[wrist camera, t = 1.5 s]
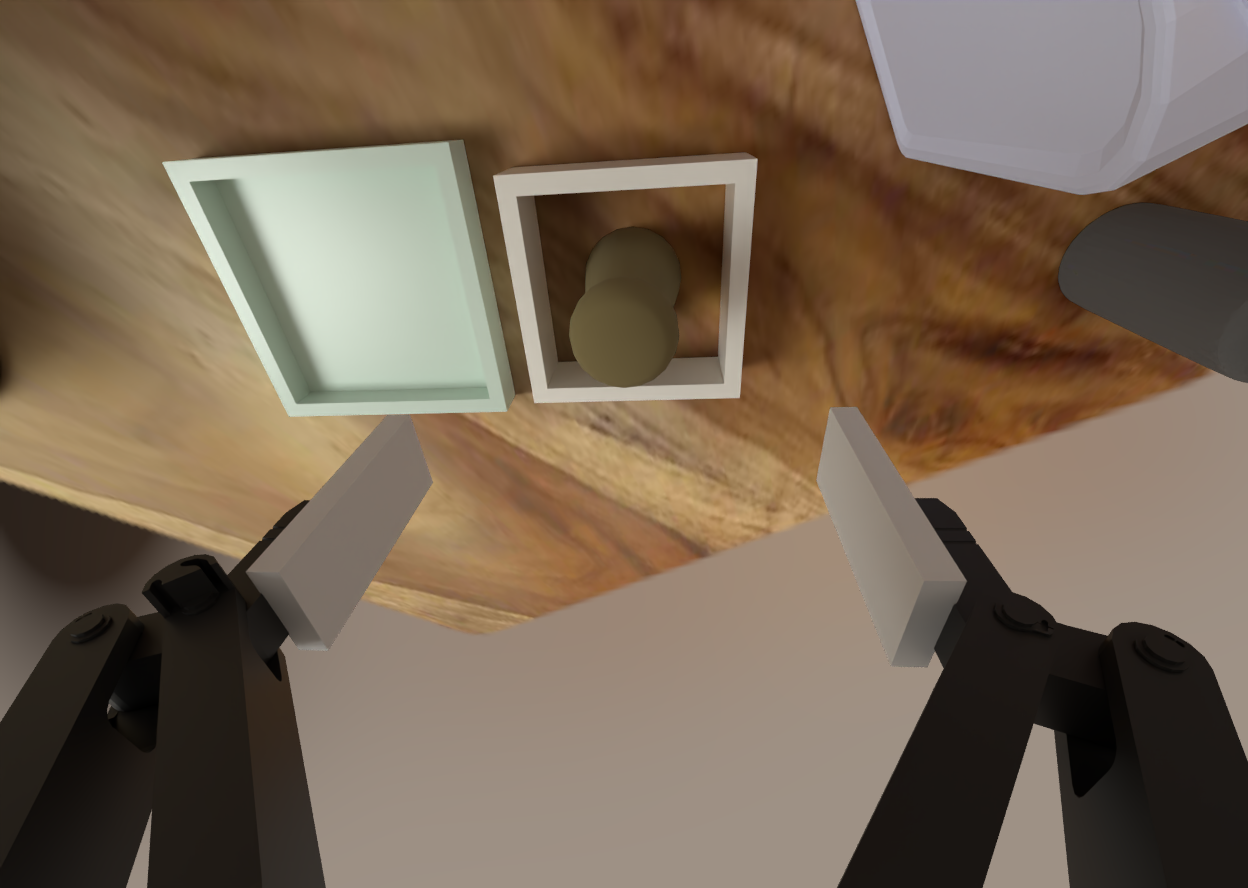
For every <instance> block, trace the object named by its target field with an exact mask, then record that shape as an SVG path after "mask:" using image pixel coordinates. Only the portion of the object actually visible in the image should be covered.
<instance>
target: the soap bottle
mask: <svg viewBox="0 0 1248 888" xmlns="http://www.w3.org/2000/svg"><path fill="white" fill-rule="evenodd" d="M856 4H857V7H858V10H859V14H860V17H861V21H862V24H863V28H864V31H865V34H866V38H867V41H868V45H869V48H870V51H871V55H872V58H873V62H874V65H875V69H876V72H877V75H878V79H879V82H880V86H881V89H882V93H883V96H884V99H885V103H886V106H887V110H888V113H889V116H890V120H891V123H892V127H893V130H894V134H895V137H896V140H897V144H898V146H899V149H900V151H901V153H902V154H903V155H904V156H905V157H906V158H911V159H916V160H920V161H925V162H930V163H934V164H939V165H944V166H948V167H953V168H957V169H962V170H967V171H971V172H976V173H981V174H985V175H990V176H995V177H999V178H1004V179H1009V180H1013V181H1018V182H1023V183H1027V184H1032V185H1036V186H1041V187H1046V188H1050V189H1055V190H1060V191H1064V192H1069V193H1074V194H1078V195H1086V194H1093V193H1099V192H1106V191H1113V190H1116V189H1118V188H1120V187H1122V186H1124V185H1126V184H1128V183H1130V182H1132V181H1134V180H1136V179H1138V178H1140V177H1142V176H1144V175H1146V174H1148V173H1150V172H1152V171H1154V170H1156V169H1158V168H1160V167H1162V166H1164V165H1166V164H1168V163H1170V162H1172V161H1174V160H1176V159H1178V158H1180V157H1182V156H1184V155H1186V154H1188V153H1190V152H1192V151H1194V150H1196V149H1198V148H1200V147H1202V146H1204V145H1206V144H1208V143H1210V142H1212V141H1214V140H1216V139H1218V138H1220V137H1222V136H1224V135H1226V134H1228V133H1230V132H1232V131H1234V130H1236V129H1238V128H1240V127H1242V126H1244V125H1246V124H1248V0H856Z"/></svg>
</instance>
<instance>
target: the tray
mask: <svg viewBox="0 0 1248 888" xmlns="http://www.w3.org/2000/svg"><path fill="white" fill-rule="evenodd" d="M162 163H163V165H164V167H165V169H166V171H167V173H168V175H169V177H170V179H171V181H172V183H173V185H174V187H175V189H176V191H177V193H178V195H179V197H180V199H181V201H182V203H183V205H184V207H185V209H186V211H187V213H188V215H189V217H190V219H191V221H192V223H193V225H194V227H195V229H196V231H197V233H198V235H199V237H200V239H201V241H202V243H203V245H204V247H205V249H206V251H207V253H208V255H209V257H210V259H211V261H212V263H213V265H214V267H215V269H216V271H217V273H218V275H219V277H220V279H221V281H222V283H223V285H224V288H225V290H226V292H227V294H228V296H229V298H230V300H231V302H232V304H233V306H234V308H235V310H236V312H237V314H238V316H239V318H240V320H241V322H242V324H243V326H244V328H245V330H246V332H247V334H248V336H249V338H250V340H251V342H252V344H253V346H254V348H255V350H256V352H257V354H258V356H259V358H260V360H261V362H262V364H263V366H264V368H265V370H266V372H267V374H268V376H269V378H270V380H271V382H272V384H273V386H274V388H275V390H276V392H277V394H278V396H279V398H280V400H281V402H282V404H283V406H284V408H285V410H286V412H287V414H288V416H289V417H295V416H338V415H380V414H423V413H465V412H507V411H508V409H509V407H510V405H511V403H512V401H513V399H514V397H515V391H514V386H513V381H512V376H511V371H510V366H509V361H508V356H507V351H506V347H505V342H504V337H503V332H502V327H501V322H500V317H499V312H498V307H497V302H496V297H495V293H494V288H493V283H492V278H491V273H490V268H489V263H488V258H487V253H486V248H485V244H484V239H483V234H482V229H481V224H480V219H479V214H478V209H477V204H476V199H475V195H474V190H473V185H472V180H471V175H470V170H469V165H468V160H467V155H466V150H465V145H464V141H463V140H449V141H435V142H420V143H406V144H392V145H377V146H363V147H349V148H334V149H320V150H306V151H292V152H277V153H263V154H249V155H234V156H220V157H206V158H193V159H185V160H176V161H167V162H162Z"/></svg>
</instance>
